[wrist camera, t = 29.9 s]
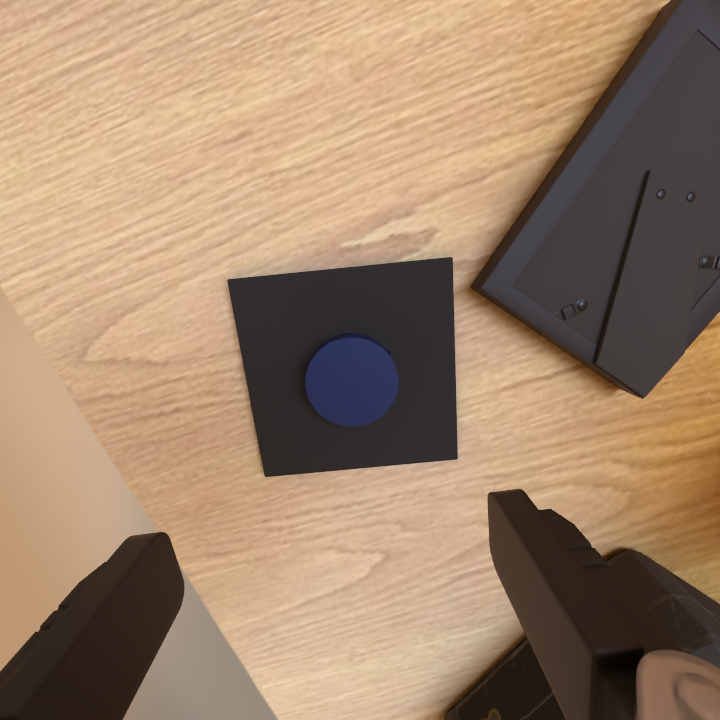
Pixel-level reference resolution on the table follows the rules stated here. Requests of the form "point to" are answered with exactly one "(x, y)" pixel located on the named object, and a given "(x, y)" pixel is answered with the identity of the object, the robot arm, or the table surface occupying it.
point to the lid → (351, 380)
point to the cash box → (661, 598)
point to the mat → (341, 315)
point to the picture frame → (629, 214)
